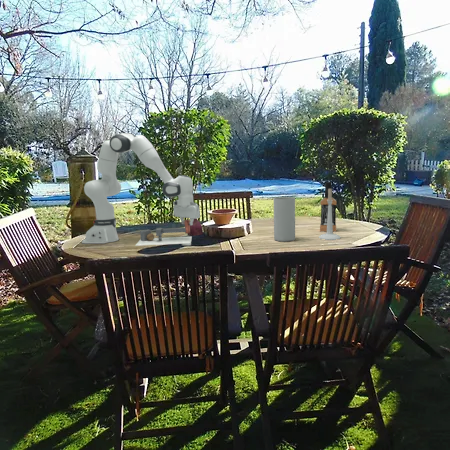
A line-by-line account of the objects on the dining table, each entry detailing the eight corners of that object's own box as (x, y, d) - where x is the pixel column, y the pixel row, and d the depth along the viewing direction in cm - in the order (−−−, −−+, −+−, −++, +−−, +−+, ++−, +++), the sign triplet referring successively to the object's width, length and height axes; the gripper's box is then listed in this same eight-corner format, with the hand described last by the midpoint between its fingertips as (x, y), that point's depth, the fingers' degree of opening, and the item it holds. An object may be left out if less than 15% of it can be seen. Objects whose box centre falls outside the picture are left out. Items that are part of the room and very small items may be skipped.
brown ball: (146, 241, 238) (146, 234, 238) (147, 240, 243) (147, 232, 242) (153, 241, 239) (153, 233, 238) (154, 239, 243) (154, 232, 242)
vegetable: (200, 240, 260) (200, 219, 253) (185, 238, 262) (185, 217, 255) (204, 233, 269) (205, 213, 263) (190, 231, 271) (190, 211, 265)
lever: (155, 235, 235) (154, 222, 234) (156, 233, 242) (156, 220, 241) (189, 234, 236) (189, 221, 235) (190, 232, 243) (189, 219, 242)
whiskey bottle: (336, 229, 264) (336, 181, 259) (336, 231, 255) (336, 182, 250) (320, 229, 267) (320, 181, 262) (319, 231, 257) (320, 182, 252)
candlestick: (334, 235, 243) (334, 186, 239) (344, 239, 231) (345, 188, 226) (315, 237, 241) (315, 187, 236) (324, 240, 228) (324, 189, 224)
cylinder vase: (275, 242, 229) (274, 199, 226) (273, 238, 242) (272, 197, 238) (296, 241, 229) (296, 198, 225) (293, 237, 242) (293, 196, 238)
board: (135, 247, 228) (134, 235, 227) (141, 240, 249) (140, 229, 247) (190, 245, 229) (190, 232, 228) (191, 238, 250) (191, 227, 249)
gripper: (201, 202, 233) (202, 225, 235) (179, 201, 247) (180, 222, 249) (194, 203, 229) (195, 226, 231) (171, 202, 242) (172, 224, 245)
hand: (187, 224), depth 240 cm, fingers open, 5 cm apart
